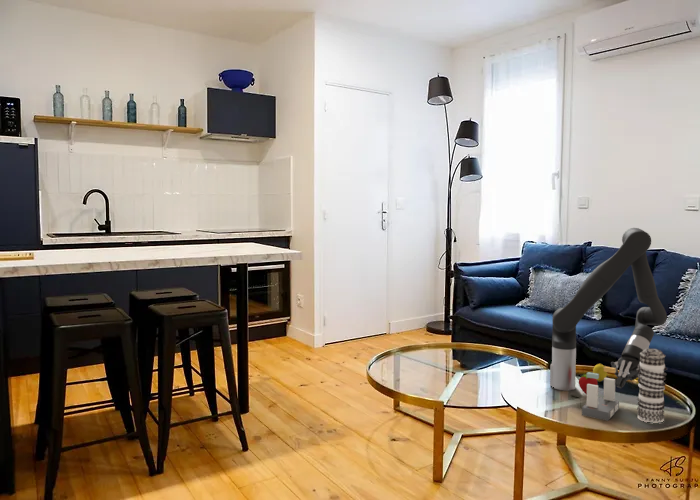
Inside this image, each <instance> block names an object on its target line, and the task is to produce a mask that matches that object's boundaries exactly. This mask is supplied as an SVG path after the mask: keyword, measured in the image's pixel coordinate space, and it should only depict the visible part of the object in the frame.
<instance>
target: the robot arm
mask: <svg viewBox="0 0 700 500" xmlns="http://www.w3.org/2000/svg"><path fill="white" fill-rule="evenodd" d="M650 235H651V234H650V233H648V231H645V230H643V229H641V228H639V227H631V228H628V229H626V231H624V232H623V235H622V236H621V237H622V239H621V241H622V244H621V246H620V247H619V248H618V250H617V251H616V252H615V253H614V254H613V255H612V256H611V257H610V258H607V260H605V261H603V262H602V263H600V264H599V265H598V266H597V267H595V268H594V269H593V270H592V271H591V273H590V274H589V275H588V276H587V277H586V278H585V279H584V281H583V282H582V283H581V285H580V286H579V288H578V289H577V291H576V293H575V294H574V295H573V298H571V300H569V302H568V303H567V304H566V305H564V307H560V308H557V309H556V310H555V311H554V312H553V314H552V318H551V320H552V327H551V328H552V336H551V339H552V340H551V346H552V347H551V360H552V361H551V363H550V366H549V367H550V368H549V369H550V370H549V371H550V372H549V374H550V375H549V386H552V387H551V388H553V387H554V388H553V389H555V390H558V391H573V390H575V389H576V376H577V375H576V373H577V372H576V365H577V364H576V363H577V362H576V361H577V360H576V359H577V325H578V324H579V323H580V321H581V320H582V318H584V316H585V315H586V313H587V312H588V311H589V309H591V307H594V305H595V304H596V303H598V301H600V300H601V299H602V297H604V296H605V295H606V294H607V292H609V290H610V289H612V287H613V286H614V285H615V284H616V282H617V281H618V280H619V279H620V278H621V277H622V276H623V274H624V273H625V272H626V271H627V270H628V268H630V267H631V270H632V271H631V272H632V275H633V281H634V287H635V290H636V295H637V300H638V301H639V302H640V303H641V304H644V305H646V306H642V307H640V308H639V309H638V310H637V311H636V316H635V324H634V329H633V331H632V334H631V335H630V338H629V339H628V340H627V343H626V344H625V347H624V349H623V351H622V353H621V356H620V357H619V358H618V360H617V361H615V362H614V361H611V362H610V365H611V367H612V368H616V372H615V373H614V375H615V377H616V379H615V387H617V388H618V389H622V388H624V387H625V385H626V383H627V381H631V382H632V381H634V380H636V379H639V378H638V374H639V373H638V372H637V371H638V366H637V365H639V363H640V353H641V352H642V351H643V350H644V349H650V347H649V346H650V344H651V343H652V340H653V339H654V335H655V332H654V329H653V328H651V327H650V326H663V325H664V324H665V323H666V322H667V319H668V318H667V315H668V314H667V312H666V309H665V307H664V306H663V304H662V302H661V300H660V298H659V296H658V291H657V287H656V283H655V279H654V276H653V273H652V270H651V267H650V264H649V261H648V257H647V251H648V250H649V249H650V247H651V245H652V237H651V236H650ZM648 325H650V326H648ZM618 368H619V370H618Z"/></svg>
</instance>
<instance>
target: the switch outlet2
mask: <svg viewBox="0 0 700 500" xmlns="http://www.w3.org/2000/svg"><path fill="white" fill-rule="evenodd" d="M604 366H605V367H604V371H605V372H607V373H612V374H615V372H616V368H612V366H611V367H610V366H606V365H604ZM615 382H616V379H614V378H609V377H606V378H604V380H603V398H604V400H610V401H615V400H616V384H615Z"/></svg>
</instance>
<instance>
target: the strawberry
mask: <svg viewBox="0 0 700 500" xmlns="http://www.w3.org/2000/svg"><path fill="white" fill-rule="evenodd" d="M598 382H599V381H598V380H597V379H594V378H588V377H587V373H586V374H585V373H583V375H580V378H579V379H578V386H579V387H580V389H581V390H582V392H583V393H584V395H586V396H587V384H593V385H598V384H599V383H598Z"/></svg>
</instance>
